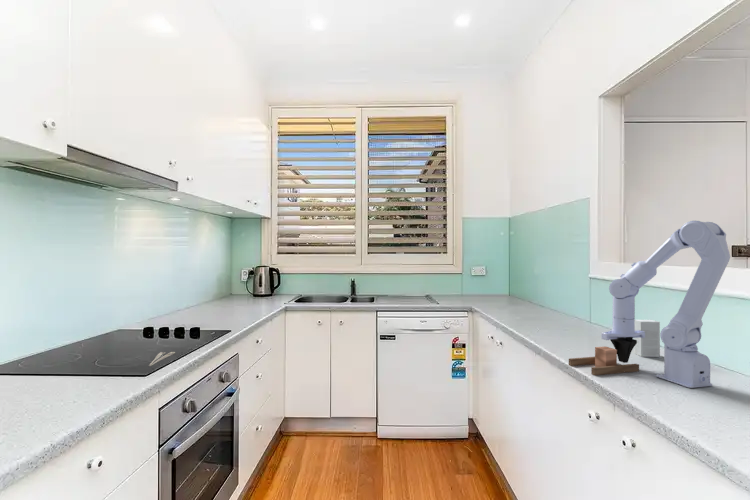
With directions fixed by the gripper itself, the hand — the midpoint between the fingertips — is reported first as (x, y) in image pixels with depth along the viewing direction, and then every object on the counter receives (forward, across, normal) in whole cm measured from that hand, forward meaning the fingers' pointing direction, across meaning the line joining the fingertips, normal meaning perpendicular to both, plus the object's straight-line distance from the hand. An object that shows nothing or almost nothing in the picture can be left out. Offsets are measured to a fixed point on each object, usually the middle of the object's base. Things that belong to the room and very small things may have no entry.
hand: (623, 361), depth 117 cm
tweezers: (+2, +142, -39) cm, 147 cm away
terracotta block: (+2, +7, 0) cm, 7 cm away
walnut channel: (+1, +8, 0) cm, 8 cm away
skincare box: (+2, -18, -8) cm, 20 cm away
